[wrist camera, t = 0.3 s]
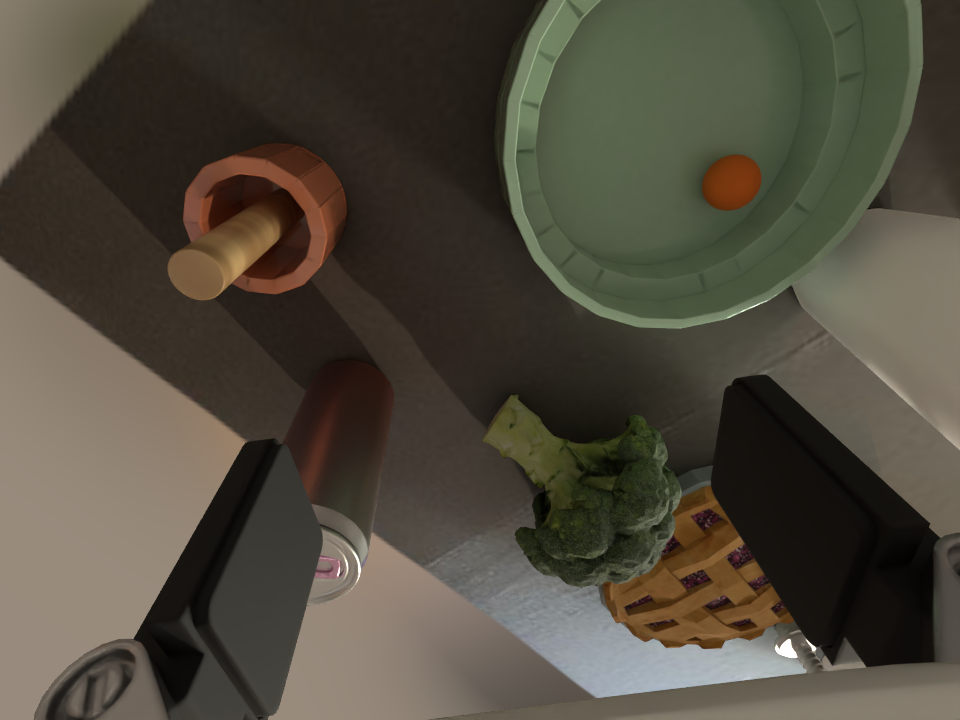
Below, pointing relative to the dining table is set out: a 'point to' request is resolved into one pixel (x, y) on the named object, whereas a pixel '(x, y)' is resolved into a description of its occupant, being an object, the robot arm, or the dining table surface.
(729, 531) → the pie
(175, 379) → the dining table surface
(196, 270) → the stick
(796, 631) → the screw
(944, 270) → the cup
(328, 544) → the beverage can
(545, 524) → the vegetable
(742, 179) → the ball
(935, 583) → the robot arm
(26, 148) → the dining table surface
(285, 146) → the holder
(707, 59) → the bowl
